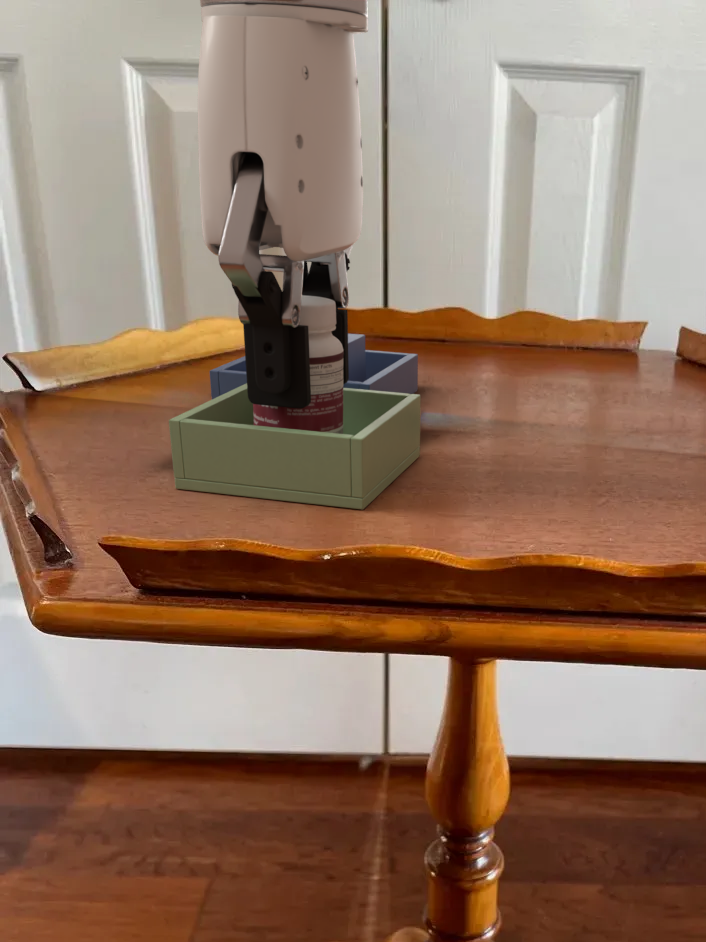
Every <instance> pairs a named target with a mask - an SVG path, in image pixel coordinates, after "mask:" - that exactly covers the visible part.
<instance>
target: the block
mask: <svg viewBox="0 0 706 942" xmlns="http://www.w3.org/2000/svg"><path fill="white" fill-rule="evenodd" d="M365 350H366V334H359V333H348V364H349V379H348V381H358V382H364V381H366V361H365Z"/></svg>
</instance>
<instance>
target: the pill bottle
mask: <svg viewBox="0 0 706 942" xmlns="http://www.w3.org/2000/svg"><path fill="white" fill-rule="evenodd" d="M299 325H306V326H308V331H309V359H310V387H311V402H310V404H309V405H308V406H306V407H305V408H302V409H298V408H288V407H277V406H267V405H256V404H253V415H254V425H256V426H266V427H276V428H286V429H297V430H307V431H317V432H327V433H337V434H343V355H344V350H343V346H342V344H341V342H340V341H339V340H338V339H337V338H336V337H334V336H333V335H332V332H331V331H333V330H335V329H336V326H335V325H336V303H335V301H333V300H331V299H328V298H323V297H316V296H304V295H302V303H301V318H300V323H299Z"/></svg>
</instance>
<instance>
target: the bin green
mask: <svg viewBox="0 0 706 942" xmlns="http://www.w3.org/2000/svg"><path fill="white" fill-rule="evenodd" d="M421 400H422V399H421V394H418V393H413V394H408V393H397V392H385V391H374V390H363V389H352V388H343V434H337V433H327V432H317V431H307V430H297V429H286V428H276V427H266V426H256V425H254V415H253V403H251V402H250V401H249V399H248V392H247V383H246V384H244V385H242V386H240V387H238V388H236V389H233V390H231V391H229V392H227V393H225V394H223V395H221V396H219V397H216V398H214V399H212V398H211V399H210V400H208V401H206V402H204V403H202V404H200V405H197V406H195V407H193V408H191V409H189V410H186V411H185V412H182V413H180V414H178V415H176V416H174V417H172V418H170V419H168V428H169V438H170V449H171V458H172V459H171V460H172V468H173V469H172V470H173V477H174V487H175V489H177V490H185V491H191V492H192V491H194V492H203V493H211V494H218V495H219V494H220V495H229V496H237V497H246V498H253V499H254V498H255V499H262V500H263V499H264V500H273V501H274V500H275V501H282V502H292V503H299V504H300V503H301V504H307V505H317V506H326V507H335V508H343V509H344V508H345V509H353V510H364V509H365V508H366V507H367V506H369V505H370V504H371V503H372V502H373V501H374V500H375V499H377V497H378V496H379V495H380V494H382V492H384V491H385V490H386V488H388V487H389V486H390V485H391V484H392V483H393V482H394V481H395V480H396V479H397V478H398V477H399V476H401V475H402V474H403V472H405V470H407V469H408V468H409V467H410V466H411V465H412V464H413V463H414V462H415V461H416V460H418V458H419V457H420V456H421Z"/></svg>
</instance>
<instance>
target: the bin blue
mask: <svg viewBox="0 0 706 942" xmlns="http://www.w3.org/2000/svg"><path fill="white" fill-rule="evenodd" d="M365 361H366V381H364V382H358V381H348V382H347V383H345V384H344V385H343V388H352V389H363V390H374V391H385V392H397V393H408V394H416V392H418V388H419V387H418V386H419V385H418V384H419V383H418V382H419V374H418V372H419V355H418V353H407V352H396V351H395V352H394V351H383V350H371V349H365ZM209 381H210V397H211V400H212V399H214V398H216V397H219V396H221V395H223V394H225V393H227V392H229V391H231V390H233V389H236V388H238V387H240V386H242V385H244V384H246V383H247V376H246V360H245V355H244V356H241V357H239V358H237V359H234V360H232V361H229V362H227V363H224V364H222V365H219V366H218V367H215V368H213V369H210V370H209Z"/></svg>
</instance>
